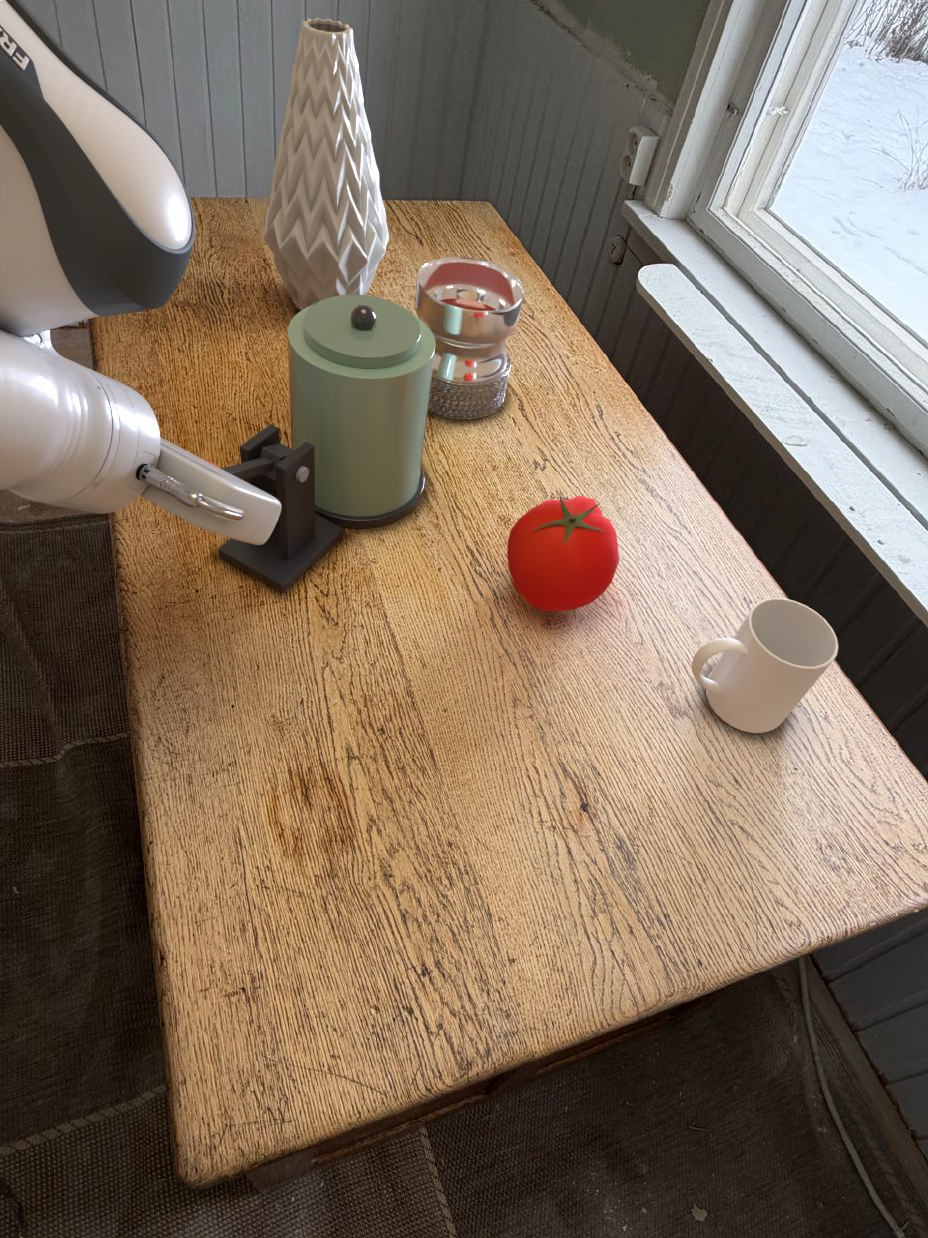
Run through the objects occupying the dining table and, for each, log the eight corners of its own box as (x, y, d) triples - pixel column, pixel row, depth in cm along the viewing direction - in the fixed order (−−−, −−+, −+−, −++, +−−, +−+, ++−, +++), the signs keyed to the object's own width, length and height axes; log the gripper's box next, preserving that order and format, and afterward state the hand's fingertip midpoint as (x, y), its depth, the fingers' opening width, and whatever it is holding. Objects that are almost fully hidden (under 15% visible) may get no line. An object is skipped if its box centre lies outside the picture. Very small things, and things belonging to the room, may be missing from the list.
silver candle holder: (416, 421, 96) (428, 311, 85) (391, 341, 107) (399, 234, 96) (515, 419, 100) (539, 312, 88) (481, 341, 110) (499, 238, 99)
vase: (358, 348, 105) (369, 61, 80) (245, 314, 107) (222, 22, 82) (402, 295, 116) (423, 27, 91) (299, 264, 117) (292, -7, 92)
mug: (761, 663, 78) (810, 594, 70) (798, 729, 74) (855, 664, 66) (651, 674, 76) (690, 604, 68) (683, 745, 71) (728, 678, 63)
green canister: (374, 549, 81) (386, 372, 65) (258, 488, 85) (243, 306, 69) (448, 475, 90) (474, 305, 75) (341, 423, 94) (344, 250, 78)
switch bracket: (283, 593, 76) (277, 493, 66) (218, 557, 78) (203, 454, 68) (343, 536, 82) (346, 437, 72) (282, 504, 84) (277, 403, 74)
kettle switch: (201, 516, 62) (208, 474, 60) (166, 496, 63) (172, 455, 61) (298, 484, 73) (307, 449, 71) (268, 469, 74) (275, 433, 72)
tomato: (619, 571, 84) (650, 500, 76) (579, 650, 76) (608, 579, 69) (526, 530, 86) (546, 457, 79) (478, 602, 78) (495, 529, 71)
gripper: (233, 463, 47) (329, 500, 61) (-8, 338, 52) (131, 397, 65) (191, 557, 48) (295, 572, 61) (-43, 424, 53) (101, 466, 66)
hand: (209, 481), depth 63 cm, fingers open, 8 cm apart
